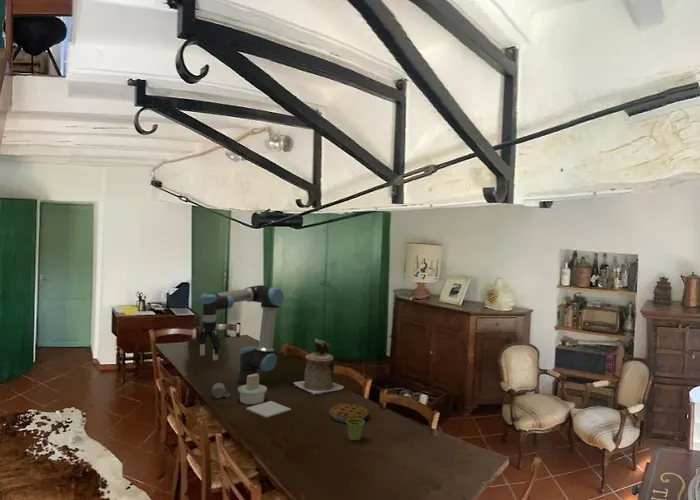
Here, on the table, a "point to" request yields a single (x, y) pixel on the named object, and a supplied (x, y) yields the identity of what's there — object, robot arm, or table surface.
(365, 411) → the pie
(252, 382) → the lid
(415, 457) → the table surface
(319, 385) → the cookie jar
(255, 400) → the bowl
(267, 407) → the mat
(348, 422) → the plant pot
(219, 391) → the ceramic mug
